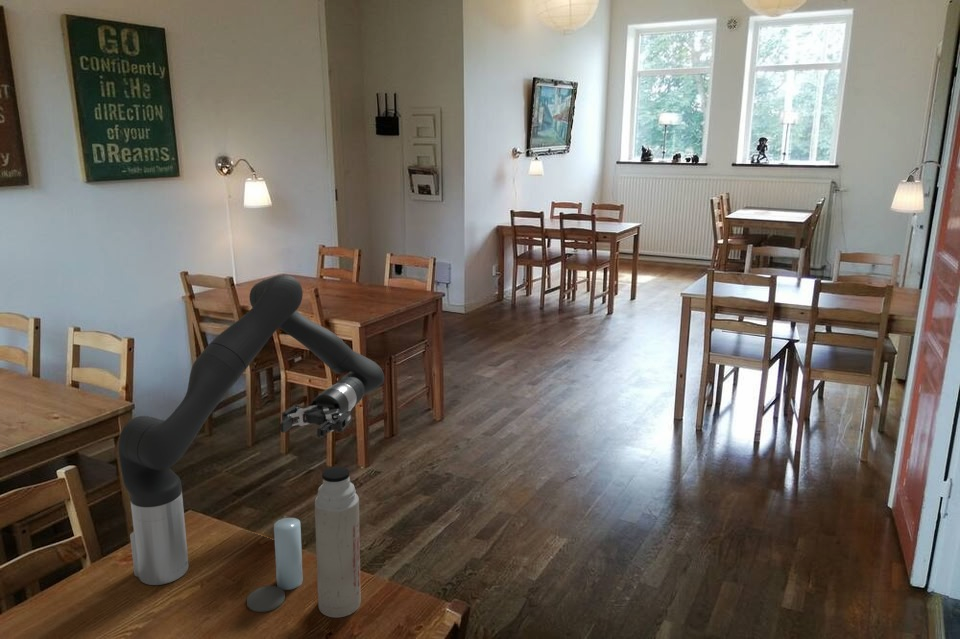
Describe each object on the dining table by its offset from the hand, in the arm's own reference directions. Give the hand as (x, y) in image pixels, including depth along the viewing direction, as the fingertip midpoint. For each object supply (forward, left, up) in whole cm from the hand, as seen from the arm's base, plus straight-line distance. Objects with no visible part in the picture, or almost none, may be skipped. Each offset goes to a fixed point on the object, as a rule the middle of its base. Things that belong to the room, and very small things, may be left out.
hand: (300, 431), depth 142 cm
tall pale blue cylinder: (+3, -13, -27) cm, 30 cm away
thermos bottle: (+16, -16, -27) cm, 35 cm away
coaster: (+2, -19, -27) cm, 33 cm away
